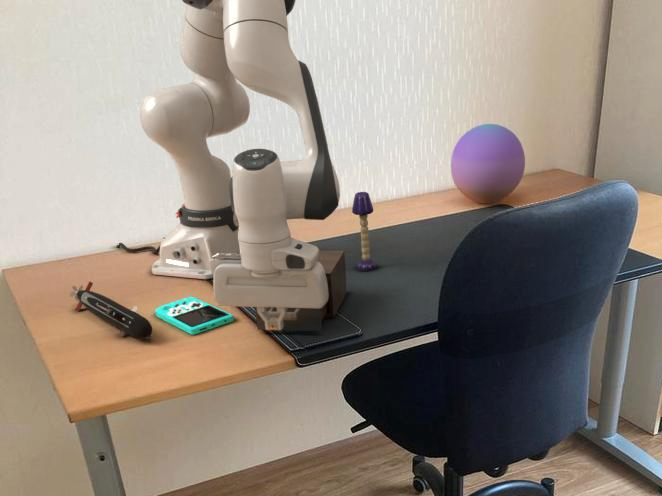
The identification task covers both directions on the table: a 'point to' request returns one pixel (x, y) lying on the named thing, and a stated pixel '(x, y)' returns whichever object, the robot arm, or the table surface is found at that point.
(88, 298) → the submarine model
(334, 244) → the table surface
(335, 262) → the cabinet
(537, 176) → the table surface
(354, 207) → the toy lamp
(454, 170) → the ball
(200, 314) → the handheld game console
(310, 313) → the drawer
